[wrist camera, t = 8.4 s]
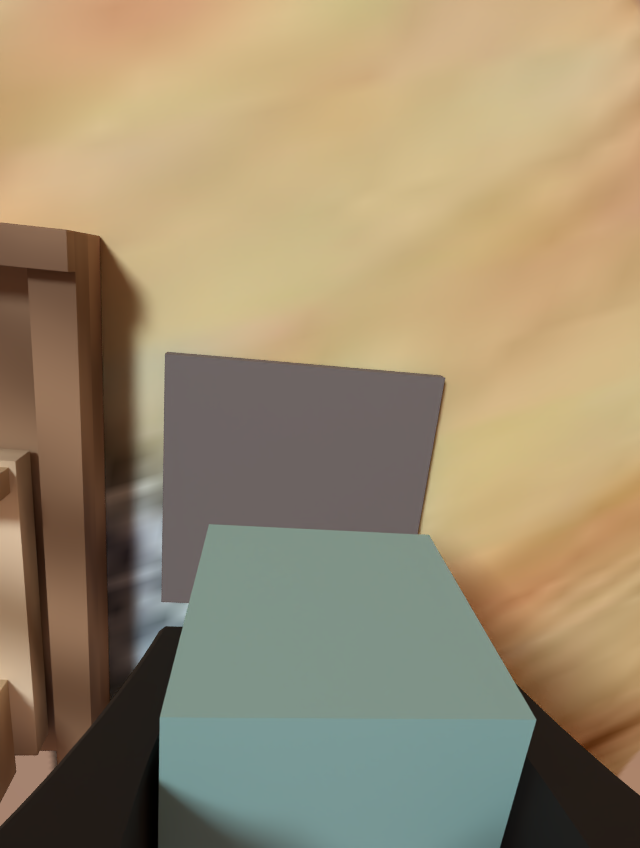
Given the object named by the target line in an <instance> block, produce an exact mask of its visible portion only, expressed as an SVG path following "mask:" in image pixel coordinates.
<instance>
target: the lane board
mask: <svg viewBox="0 0 640 848" xmlns="http://www.w3.org/2000/svg"><path fill="white" fill-rule="evenodd" d="M0 449H13V450H29V451H30V461H31V476H32V492H33V507H34V522H35V537H36V552H37V567H38V582H39V597H40V612H41V627H42V642H43V657H44V672H45V687H46V703H47V718H48V735H47V737H46V739H45V741H44V743H43V745H42V747H41V749H40V751H57V765H58V764H59V763H60V761H61V760H62V759H63V758H64V757H65V756H66V754H67V753H68V752H69V751H70V750H71V749H72V748H73V746H74V745H75V744H76V743H77V742H78V741H79V739H80V738H81V737H82V736H83V735H84V734H85V732H86V731H87V730H88V729H89V728H90V726H91V725H92V724H93V723H94V721H95V720H96V719H97V718H98V716H99V715H100V714H101V713H102V711H103V710H104V709H105V707H106V706H107V705H108V703H109V702H110V693H109V646H108V600H107V553H106V506H105V460H104V413H103V367H102V320H101V274H100V236H96V235H91V234H86V233H80V232H75V231H70V230H63V229H54V228H45V227H36V226H27V225H18V224H9V223H0Z"/></svg>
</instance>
